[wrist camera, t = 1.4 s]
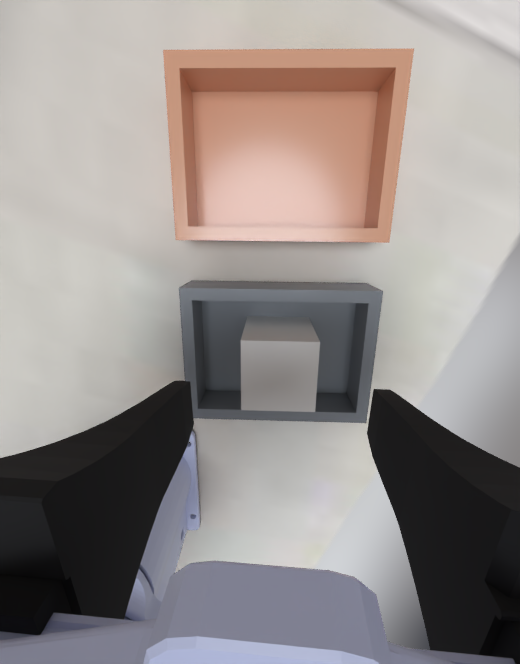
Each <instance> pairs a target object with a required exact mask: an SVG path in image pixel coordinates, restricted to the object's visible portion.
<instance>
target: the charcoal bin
mask: <svg viewBox="0 0 520 664" xmlns="http://www.w3.org/2000/svg"><path fill="white" fill-rule="evenodd" d="M382 295H383V291H381V290H379V289H377V288H375V287H373V286H371V285H369V284H367V283H313V282H247V281H190V282H189V283H187V284H185V285H183V286H182V287H180V288H179V296H180V311H181V326H182V341H183V356H184V372H185V381H190V385H191V397H192V409H193V418H204V419H241V420H277V421H314V422H350V423H366V420H367V412H368V405H369V397H370V389H371V381H372V373H373V365H374V358H375V350H376V342H377V334H378V326H379V318H380V311H381V303H382ZM247 316H270V317H309V319H310V321H311V324H312V326H313V328H314V330H315V332H316V334H317V336H318V339H319V341H320V350H319V364H318V378H317V393H316V407H315V412H292V411H254V410H241V337H242V334H243V330H244V327H245V323H246V320H247Z"/></svg>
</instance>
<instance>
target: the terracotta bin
mask: <svg viewBox="0 0 520 664" xmlns="http://www.w3.org/2000/svg"><path fill="white" fill-rule="evenodd" d="M413 52H414V49H253V50H163V53H164V68H165V84H166V99H167V114H168V129H169V144H170V159H171V175H172V190H173V205H174V220H175V235H176V240H219V241H305V242H389V240H390V232H391V224H392V217H393V209H394V201H395V193H396V185H397V177H398V170H399V162H400V154H401V146H402V138H403V130H404V123H405V115H406V107H407V99H408V91H409V83H410V76H411V68H412V60H413Z"/></svg>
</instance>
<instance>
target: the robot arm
mask: <svg viewBox="0 0 520 664" xmlns="http://www.w3.org/2000/svg"><path fill="white" fill-rule="evenodd" d="M193 425H194V421H193V409H192V397H191V385H190V381H174V382H172V383H170V384H169V385H167V386H165V387H164V388H162V389H161V390H159V391H157V392H156V393H154V394H153V395H151V396H150V397H148V398H146V399H145V400H143V401H142V402H140V403H138V404H137V405H135V406H133V407H131V408H130V409H128V410H126V411H124V412H123V413H121V414H119V415H118V416H116V417H114V418H112V419H110V420H108V421H106V422H104V423H102V424H99V425H97V426H95V427H93V428H91V429H88V430H86V431H84V432H81V433H79V434H76V435H73V436H71V437H68V438H66V439H63V440H61V441H58V442H55V443H52V444H49V445H46V446H43V447H40V448H36V449H33V450H30V451H26V452H23V453H19V454H16V455H12V456H8V457H3V458H0V664H520V468H519V467H517V466H515V465H513V464H510V463H508V462H506V461H504V460H502V459H500V458H498V457H496V456H494V455H492V454H489V453H487V452H486V451H484V450H482V449H480V448H478V447H476V446H475V445H473V444H471V443H469V442H467V441H466V440H464V439H462V438H460V437H459V436H457V435H455V434H454V433H452V432H450V431H449V430H448V429H446V428H444V427H443V426H441V425H440V424H438V423H437V422H435V421H434V420H432V419H431V418H429V417H428V416H427V415H425V414H424V413H422V412H421V411H420V410H418V409H417V408H415V407H414V406H413V405H411V404H410V403H409V402H407V401H406V400H404V399H403V398H402V397H400V396H399V395H397V394H396V393H394V392H393V391H391V390H382V389H374V391H373V397H372V404H371V411H370V418H369V424H368V431H367V435H368V439H369V444H370V448H371V452H372V456H373V459H374V461H375V464H376V467H377V469H378V472H379V474H380V477H381V479H382V482H383V485H384V487H385V489H386V492H387V495H388V497H389V499H390V502H391V505H392V507H393V510H394V512H395V515H396V518H397V521H398V524H399V527H400V530H401V534H402V538H403V541H404V545H405V548H406V552H407V555H408V559H409V563H410V567H411V571H412V575H413V578H414V582H415V586H416V590H417V594H418V598H419V603H420V606H421V611H422V615H423V619H424V623H425V628H426V631H427V636H428V641H429V646H430V650H423V649H413V648H407V647H404V646H401V645H398V644H395V643H392V642H389V641H387V638H386V634H385V630H384V625H383V622H382V617H381V613H380V609H379V605H378V600H377V596H376V594H375V593H374V592H372V591H371V590H370V589H369V588H368V587H366V586H365V585H364V584H363V583H361V582H360V581H359V580H357V579H356V578H355V577H352V576H349V575H345V574H341V573H337V572H333V571H329V570H318V569H306V568H294V567H283V566H271V565H259V564H247V563H235V562H223V561H207V562H197V563H191V564H189V565H187V566H185V567H184V568H182V569H181V570H179V571H178V572H176V573H175V570H176V567H177V563H178V559H179V556H180V552H181V549H182V545H183V542H184V538H185V535H186V531H187V530H197V529H198V528H199V527H200V507H199V490H198V473H197V456H196V439H195V433H194V432H193V431H192V429H193ZM189 441H190V442H191V444H189V443H188V442H189ZM192 514H194V515H192Z"/></svg>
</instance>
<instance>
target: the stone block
mask: <svg viewBox="0 0 520 664" xmlns="http://www.w3.org/2000/svg"><path fill="white" fill-rule="evenodd" d="M319 350H320V341H319V339H318V336H317V334H316V332H315V330H314V328H313V326H312V324H311V321H310V319H309V317H270V316H247V320H246V323H245V327H244V330H243V334H242V337H241V410H254V411H292V412H315V407H316V393H317V378H318V364H319Z"/></svg>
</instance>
